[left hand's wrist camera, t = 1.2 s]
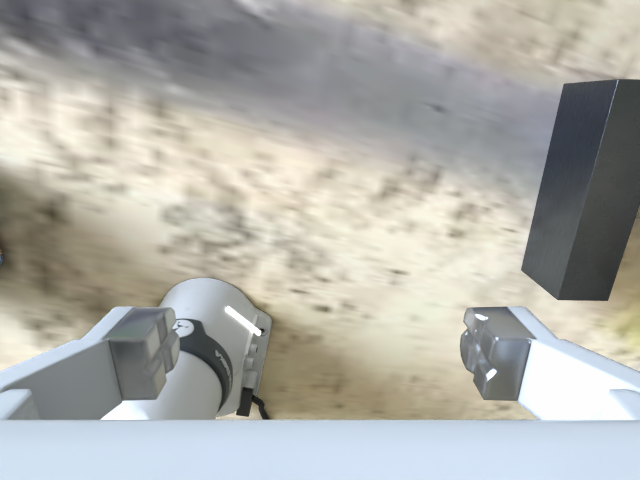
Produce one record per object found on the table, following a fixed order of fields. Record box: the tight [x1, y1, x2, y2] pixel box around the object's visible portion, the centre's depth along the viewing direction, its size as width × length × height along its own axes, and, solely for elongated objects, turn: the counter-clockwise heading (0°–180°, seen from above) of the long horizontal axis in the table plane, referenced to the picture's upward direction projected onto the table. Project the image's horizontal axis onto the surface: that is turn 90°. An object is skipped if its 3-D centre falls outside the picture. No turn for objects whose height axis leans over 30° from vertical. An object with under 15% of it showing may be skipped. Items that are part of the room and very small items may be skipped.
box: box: [521, 79, 640, 301], centre depth 44 cm, size 24×6×8 cm, turn 179°
